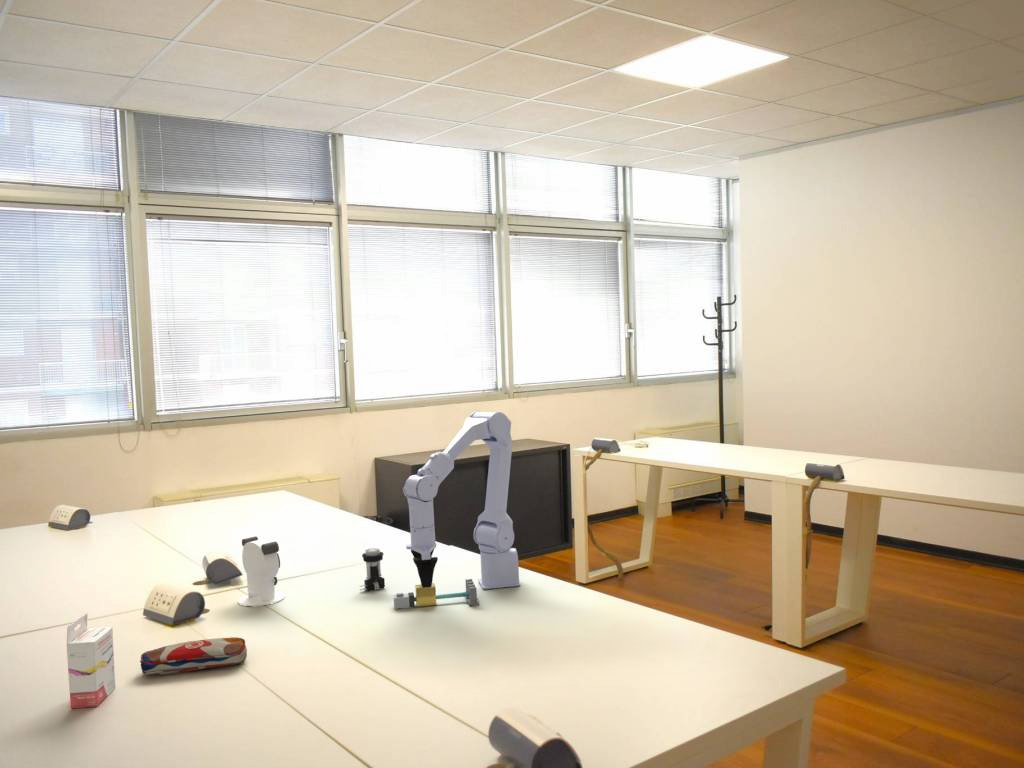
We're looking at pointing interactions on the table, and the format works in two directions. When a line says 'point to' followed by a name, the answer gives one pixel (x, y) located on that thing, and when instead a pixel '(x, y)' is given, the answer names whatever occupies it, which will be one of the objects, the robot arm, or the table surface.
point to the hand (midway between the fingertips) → (425, 582)
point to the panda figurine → (260, 571)
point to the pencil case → (194, 656)
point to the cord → (449, 595)
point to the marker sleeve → (425, 595)
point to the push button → (373, 570)
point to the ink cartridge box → (89, 664)
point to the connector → (401, 601)
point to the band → (411, 599)
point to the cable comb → (471, 592)
